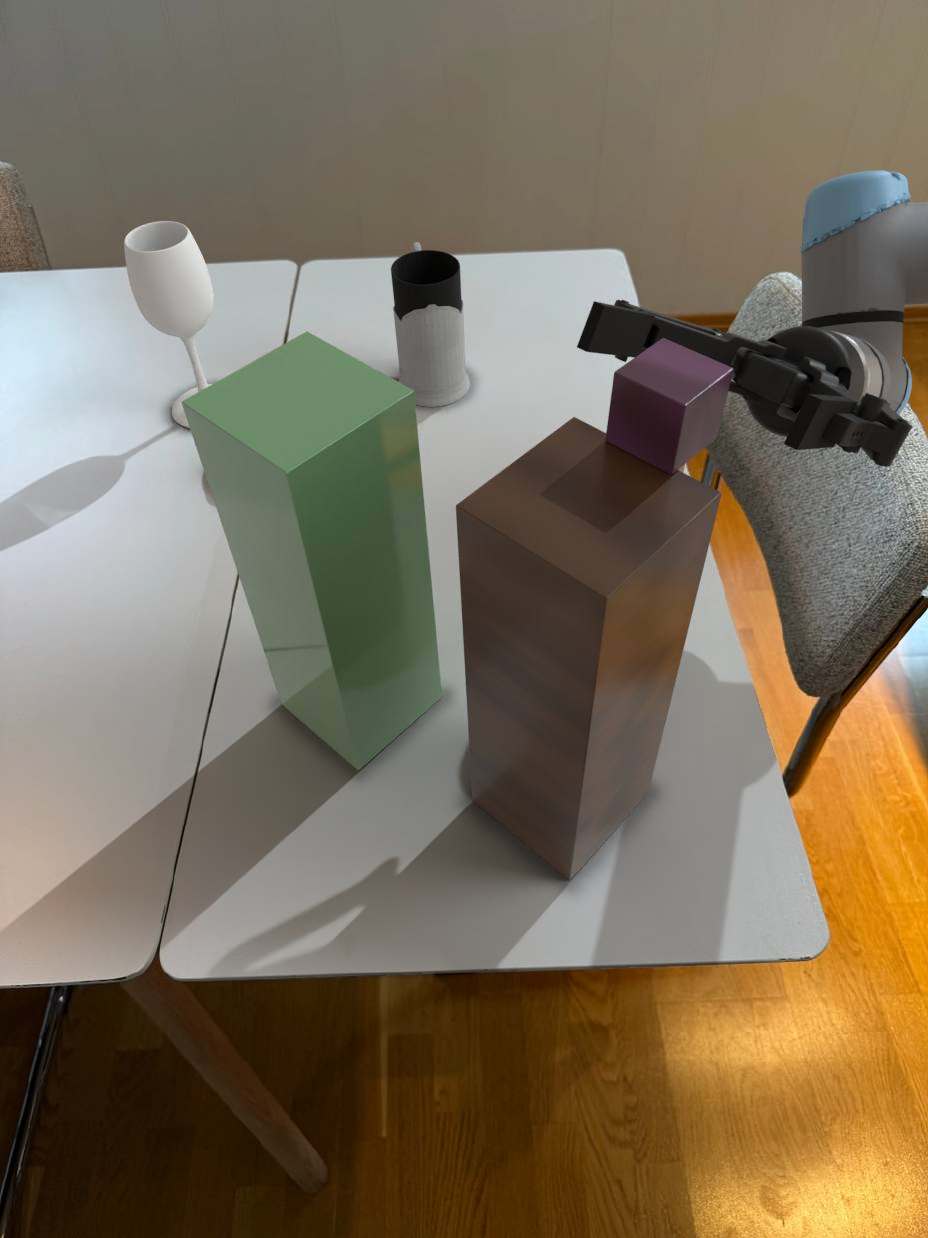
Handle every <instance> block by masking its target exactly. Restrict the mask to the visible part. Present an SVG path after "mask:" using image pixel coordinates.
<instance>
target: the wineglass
mask: <svg viewBox="0 0 928 1238" xmlns="http://www.w3.org/2000/svg"><path fill="white" fill-rule="evenodd" d="M123 249H124V260H125V266H126V267H125V268H126V274H127V277H128V281H129V286H130V289H131V293H132V295H133V297H134V300H135V303H136V305H137V309H139V312H140V313H141V315H142V317H143V318H144V320H146V321H147V323H148V324H149V325H150V326H151V327H153V328H154V329H155V330H156V331H159V332H160V333H163V334H164V335H167V336H170V337H174V338H175V337H176V338H179V339H180V340H181V341H182V343H183V345H184V347H185V350H186V352H187V356H188V357H189V361H190V364H191V366H192V370H193V375H194V379H195V382H196V386H195V387H193V388H190V389H189V390H186V391H185V392H183V393H182V394H181V395H180V396H178V398H177V399H175V401H174V403H173V405H172V408H171V416H172V418H173V419H174V421H175V422H176V423H178V424H179V425H180V426H182V427H185V428H188V429H190V427H189V424H188V421H187V418H186V415H185V412H184V409H183V406H182V403H181V402H182V401H184V400H185V399H187V398H189V397H191V396H192V395H194V394H196V393H198V392H200V391H201V390H203V389H205V388H207V387H209V386H210V385H212V384H213V383H208V382H207V379H206V376H205V374H204V370H203V367H202V365H201V362H200V358H199V355H198V350H197V347H196V342H195V335H196V334H197V333H198V332H200V331H201V330H202V329H203V328H204V327H205V326H206V325H207V323H208V322H209V320H210V318H211V316H212V312H213V310H214V306H215V295H214V288H213V284H212V280H211V275H210V272H209V269H208V266H207V264H206V261H205V259H204V256H203V254H202V252H201V250H200V247H199V245H198V244H197V242H196V239H195V238H194V235H193V234H192V232H191V231H190V229H189V228H188V227H187V226H186V225H185V224H183V223H181V222H177V221H170V220H159V221H152V222H148V223H144V224H142V225H140V226H137V227H135V228H133V229H132V230H131V231H129V232H128V233H127V235H126V236H125V237H124V241H123Z"/></svg>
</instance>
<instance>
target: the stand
mask: <svg viewBox="0 0 928 1238" xmlns="http://www.w3.org/2000/svg"><path fill="white" fill-rule="evenodd" d="M605 439H606V431H605V432H604V431H603V430H600V429H599V428H596V427H595V426H593V425H591V424H589V423H587V422H585V421H584V420H581V419H579V418H577V417H576V416H573V417H571V418H570V419H569V420H568V421H567V422H565V423H564V424H562V425H561V426H560V427H558V428H557V429H556V430H554V431H553V432H551V433H550V434H549V435H548V436H546V437H545V438H544V439H542V440H541V441H540V442H538V443H537V444H535V445H534V446H533V447H531V448H530V449H528V450H527V451H526V452H525V453H524V454H522V455H521V456H520V457H518V458H517V459H515V460H514V461H513V462H511V463H510V464H509V465H507V466H506V467H505V468H504V469H502V470H501V471H499V472H498V473H497V474H495V475H494V476H493V477H491V478H490V479H489V480H488V481H486V482H485V483H483V484H482V485H481V486H480V487H478V488H477V489H475V490H474V491H473V492H471V493H470V494H469V495H467V496H466V497H465V498H463V499H462V500H461V501H459V502H458V503H457V504H456V505H455V513H456V514H455V516H456V534H457V550H458V551H457V552H458V553H457V554H458V568H459V569H458V570H459V587H460V588H459V589H460V605H461V623H462V625H461V626H462V641H463V642H462V643H463V659H464V660H463V661H464V675H465V676H464V677H465V678H464V679H465V694H466V712H467V729H468V730H467V731H468V745H469V746H468V747H469V749H468V750H469V765H470V767H469V768H470V782H471V784H470V785H471V799H472V802H473V803H474V804H475V805H477V806H478V807H479V808H480V809H482V811H484V812H485V813H487V815H489V816H490V817H491V818H492V819H493V820H495V821H496V822H497V823H498V824H500V825H501V826H502V827H504V828H505V830H507V831H508V832H509V833H511V834H512V835H513V836H515V838H517V839H518V840H519V841H521V843H523V844H524V845H525V846H527V847H528V848H529V849H530V850H532V852H534V853H535V854H536V855H538V856H539V857H540V858H541V859H542V860H544V861H545V863H547V864H548V865H550V866H551V867H552V868H553V869H555V870H556V871H557V872H558V873H560V875H562V876H563V877H564V878H566V879H567V880H568V881H571V880H572V879H573V878H574V877H575V876H576V874H578V872H579V871H580V870H581V869H582V868H583V867H584V865H586V864H587V862H588V861H589V860H590V859H591V858H592V856H594V854H596V852H597V851H598V850H599V849H600V848H601V847H602V846H603V844H605V842H606V841H607V840H608V839H609V838H610V837H611V835H612V834H613V833H614V832H615V831H616V830H617V829H618V828H619V827H620V826H621V824H622V823H623V822H624V821H625V820H626V819H627V817H629V815H631V813H632V812H633V811H634V810H635V808H636V807H637V806H638V805H639V804H640V803H641V802H642V801H643V800H644V798H646V796H647V795H648V794H649V791H650V787H651V783H652V779H653V774H654V771H655V767H656V763H657V759H658V754H659V751H660V746H661V742H662V739H663V734H664V730H665V727H666V722H667V719H668V718H667V717H668V714H669V710H670V705H671V702H672V698H673V694H674V689H675V685H676V682H677V677H678V673H679V669H680V666H681V661H682V656H683V654H684V650H685V649H684V648H685V645H686V641H687V637H688V632H689V628H690V624H691V621H692V617H693V612H694V608H695V604H696V600H697V596H698V591H699V587H700V584H701V579H702V575H703V572H704V567H705V563H706V559H707V555H708V551H709V546H710V544H711V540H712V534H713V531H714V527H715V523H716V518H717V514H718V512H719V511H718V510H719V506H720V502H721V498H722V494H723V493H722V492H721V491H719V490H718V489H716V488H714V487H712V486H710V485H708V484H706V483H704V482H702V481H700V480H699V479H696V478H695V477H692V476H691V475H689V474H686V473H684V472H681V471H679V470H677V471H676V472H675V473H674V474H672V475H670V474H668V473H666V472H664V471H662V470H660V469H658V468H657V467H655V466H653V465H651V464H649V463H647V462H645V461H643V460H641V459H639V458H637V457H635V456H633V455H631V454H630V453H628V452H626V451H624V450H622V449H620V448H618V447H616V446H614V445H612V444H610V443H608V442H606V440H605Z"/></svg>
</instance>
